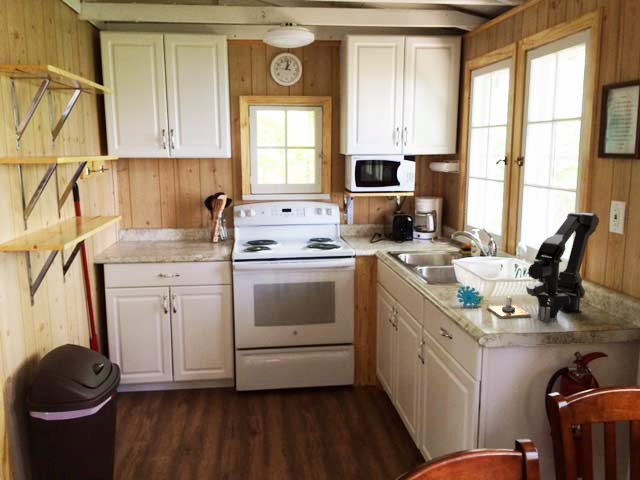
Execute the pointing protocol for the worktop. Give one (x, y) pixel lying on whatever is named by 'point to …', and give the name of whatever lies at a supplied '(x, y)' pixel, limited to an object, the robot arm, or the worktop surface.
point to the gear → (469, 297)
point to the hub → (545, 312)
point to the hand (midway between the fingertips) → (547, 315)
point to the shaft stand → (508, 310)
